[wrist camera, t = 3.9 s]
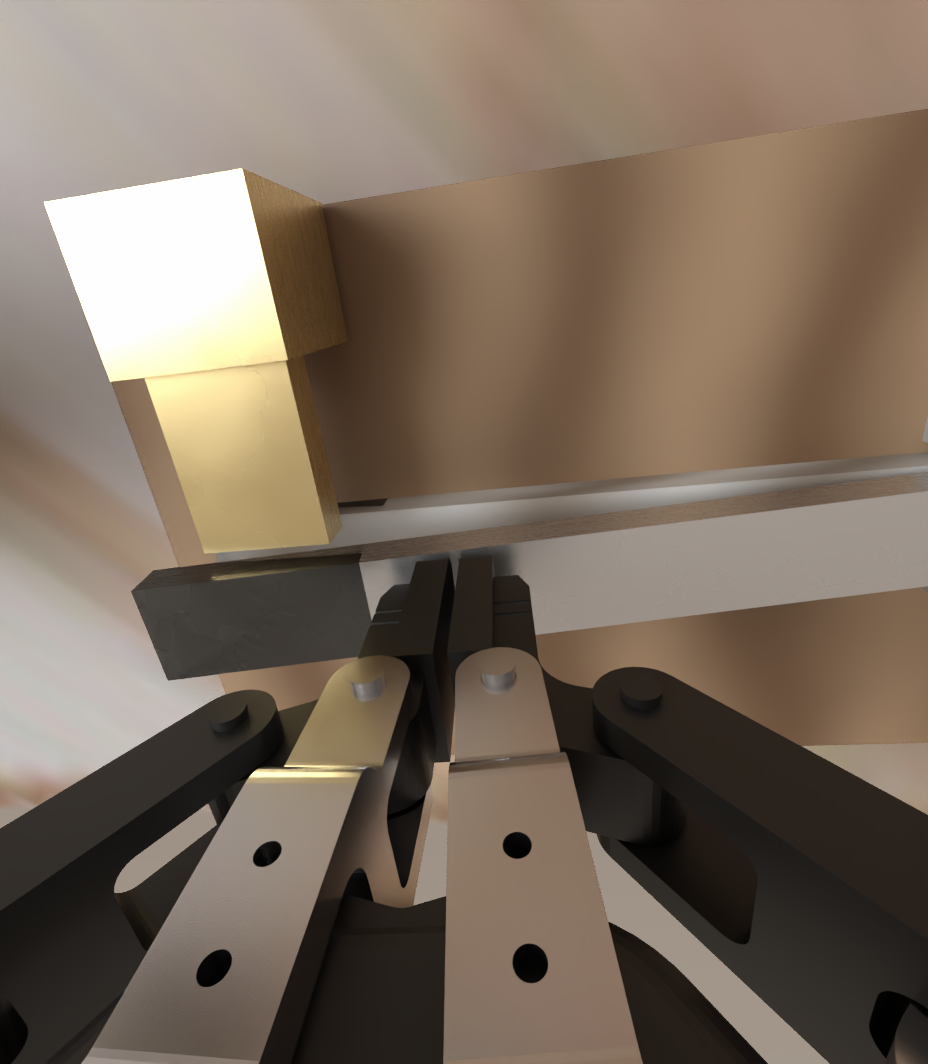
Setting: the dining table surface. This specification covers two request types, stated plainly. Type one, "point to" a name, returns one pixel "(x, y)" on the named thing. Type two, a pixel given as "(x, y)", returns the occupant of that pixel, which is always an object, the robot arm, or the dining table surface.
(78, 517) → the dining table surface
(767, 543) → the tongs upper arm
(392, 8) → the dining table surface
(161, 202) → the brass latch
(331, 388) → the wooden board with rail
